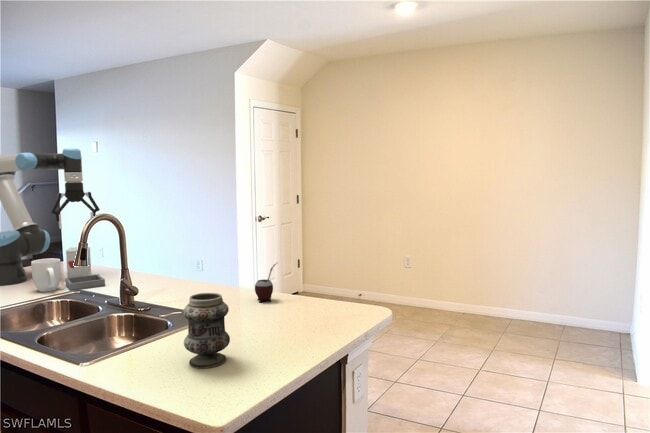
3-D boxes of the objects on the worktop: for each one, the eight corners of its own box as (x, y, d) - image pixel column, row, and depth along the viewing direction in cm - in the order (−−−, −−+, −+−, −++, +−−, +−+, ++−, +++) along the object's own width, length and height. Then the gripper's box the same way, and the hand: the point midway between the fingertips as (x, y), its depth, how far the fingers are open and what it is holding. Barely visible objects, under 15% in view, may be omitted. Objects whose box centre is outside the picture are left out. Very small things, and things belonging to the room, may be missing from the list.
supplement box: (67, 282, 225) (64, 250, 224) (71, 278, 234) (69, 247, 232) (88, 280, 227) (86, 249, 226) (92, 276, 236) (90, 246, 235)
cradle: (65, 284, 220) (65, 278, 220) (99, 280, 228) (98, 274, 228) (70, 290, 209) (69, 284, 208) (105, 286, 217) (104, 279, 216)
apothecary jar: (233, 352, 137) (231, 289, 135) (226, 369, 125) (224, 301, 123) (190, 353, 136) (188, 290, 135) (179, 371, 124) (176, 302, 123)
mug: (68, 291, 207) (66, 261, 206) (39, 296, 200) (37, 265, 199) (57, 285, 218) (56, 257, 217) (30, 290, 211) (27, 260, 209)
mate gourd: (251, 302, 188) (250, 264, 187) (263, 297, 195) (262, 260, 194) (267, 304, 185) (266, 265, 183) (278, 299, 192) (278, 262, 190)
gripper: (44, 182, 216) (47, 230, 218) (104, 181, 230) (107, 225, 232) (42, 182, 222) (45, 228, 224) (101, 181, 236) (103, 224, 238)
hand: (76, 227), depth 228 cm, fingers open, 13 cm apart
